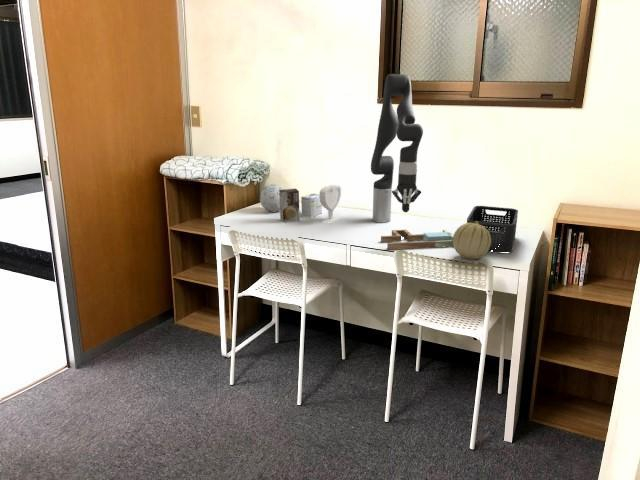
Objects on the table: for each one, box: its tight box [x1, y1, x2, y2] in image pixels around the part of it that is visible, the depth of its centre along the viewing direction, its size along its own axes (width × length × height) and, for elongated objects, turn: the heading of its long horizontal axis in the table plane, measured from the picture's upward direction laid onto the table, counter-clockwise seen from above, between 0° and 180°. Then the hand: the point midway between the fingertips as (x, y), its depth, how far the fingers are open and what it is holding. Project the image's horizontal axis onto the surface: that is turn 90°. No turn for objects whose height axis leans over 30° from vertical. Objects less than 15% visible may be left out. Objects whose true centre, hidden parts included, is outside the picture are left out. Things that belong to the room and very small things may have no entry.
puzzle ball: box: [259, 184, 284, 213], centre depth 280 cm, size 15×15×15 cm
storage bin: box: [466, 205, 519, 253], centre depth 223 cm, size 29×19×13 cm
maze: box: [380, 229, 454, 251], centre depth 227 cm, size 21×30×4 cm
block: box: [422, 231, 450, 241], centre depth 223 cm, size 6×10×4 cm, turn 97°
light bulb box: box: [300, 193, 323, 218], centre depth 273 cm, size 11×7×11 cm, turn 144°
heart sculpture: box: [319, 184, 342, 224], centre depth 260 cm, size 16×5×18 cm, turn 147°
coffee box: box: [279, 188, 301, 223], centre depth 261 cm, size 9×6×16 cm
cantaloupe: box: [452, 221, 491, 260], centre depth 203 cm, size 15×15×15 cm
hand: (405, 211), depth 218 cm, fingers closed
